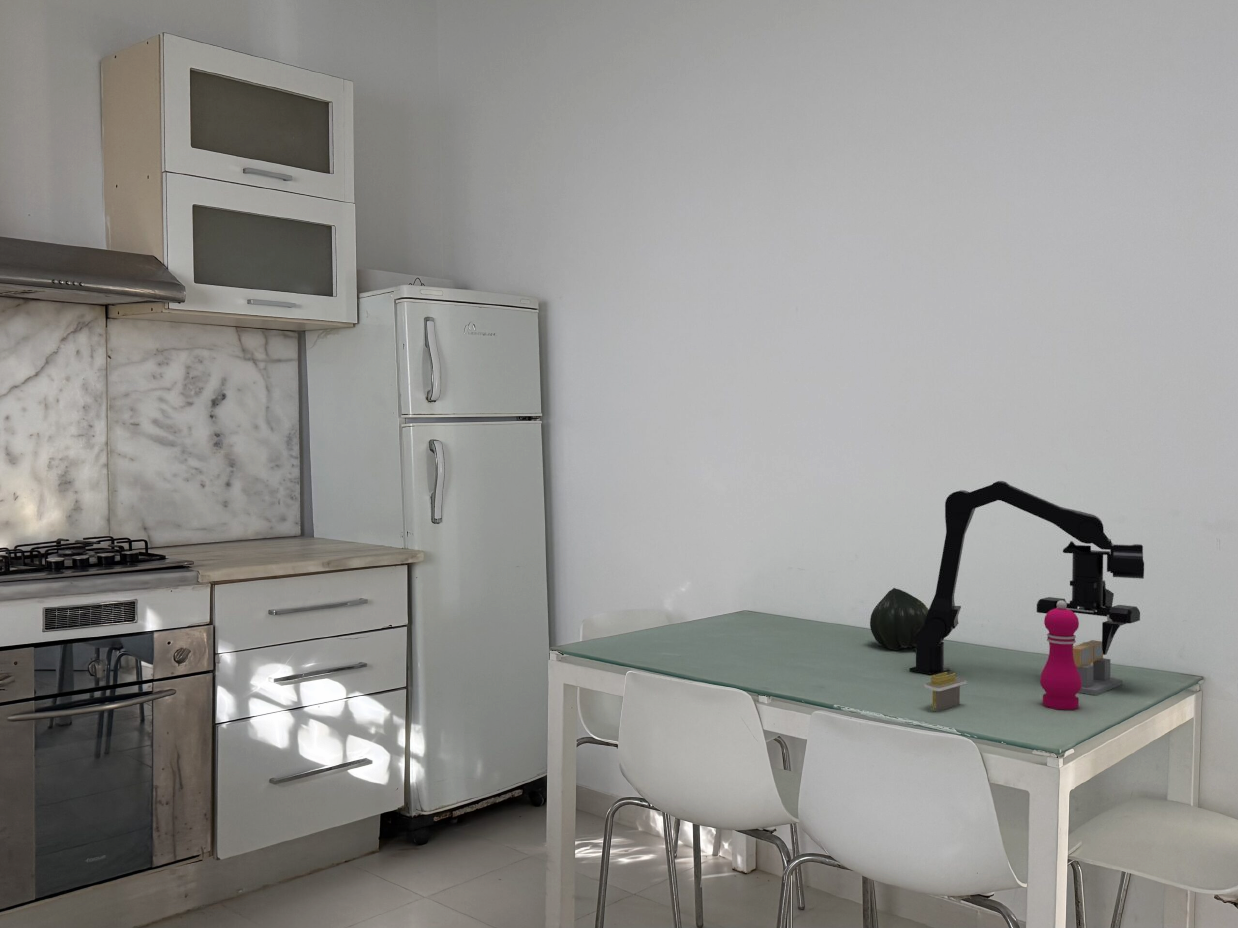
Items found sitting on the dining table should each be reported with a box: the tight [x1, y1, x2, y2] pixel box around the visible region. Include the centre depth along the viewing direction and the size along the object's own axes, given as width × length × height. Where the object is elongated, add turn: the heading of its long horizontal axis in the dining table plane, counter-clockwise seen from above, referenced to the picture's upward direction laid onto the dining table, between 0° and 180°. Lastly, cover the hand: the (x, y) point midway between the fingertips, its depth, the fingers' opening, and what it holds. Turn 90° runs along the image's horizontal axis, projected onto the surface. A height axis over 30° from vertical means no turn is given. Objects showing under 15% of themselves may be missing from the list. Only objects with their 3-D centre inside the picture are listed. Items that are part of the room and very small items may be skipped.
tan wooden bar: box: [1073, 639, 1104, 667], centre depth 209 cm, size 12×2×4 cm, turn 134°
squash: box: [869, 587, 929, 651], centre depth 249 cm, size 14×15×15 cm
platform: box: [924, 672, 967, 712], centre depth 192 cm, size 12×18×7 cm, turn 131°
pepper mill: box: [1039, 600, 1082, 711], centre depth 193 cm, size 7×7×20 cm
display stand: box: [1076, 657, 1123, 696], centre depth 209 cm, size 14×9×5 cm, turn 134°
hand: (1086, 651), depth 209 cm, fingers open, 7 cm apart
